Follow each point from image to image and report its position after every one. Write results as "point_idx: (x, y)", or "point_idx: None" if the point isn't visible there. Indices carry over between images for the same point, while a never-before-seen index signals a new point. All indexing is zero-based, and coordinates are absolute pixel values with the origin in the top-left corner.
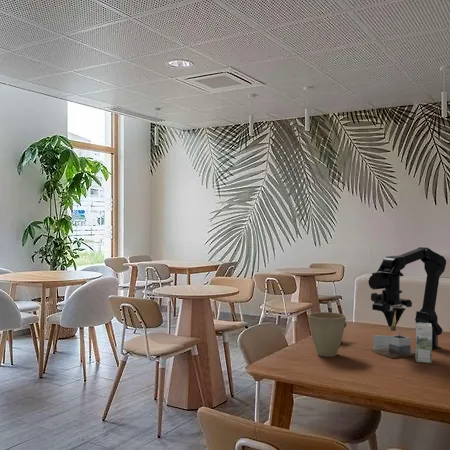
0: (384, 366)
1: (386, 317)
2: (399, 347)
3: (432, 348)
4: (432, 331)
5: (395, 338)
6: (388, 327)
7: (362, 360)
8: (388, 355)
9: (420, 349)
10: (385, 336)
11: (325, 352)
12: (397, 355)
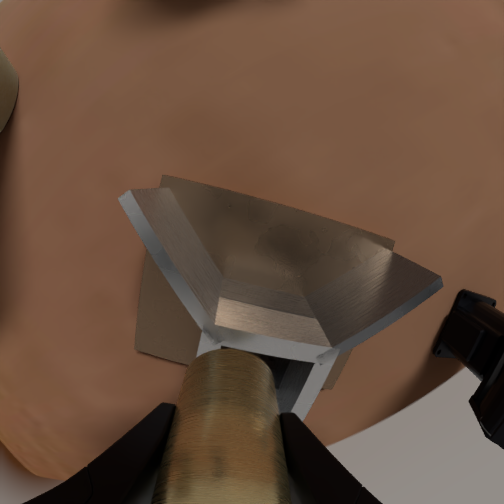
0: (41, 360)
1: (80, 488)
2: None
3: (441, 356)
4: (475, 410)
5: None
6: (191, 375)
7: (18, 258)
8: (138, 322)
9: None
10: (182, 300)
11: None
12: (169, 359)
